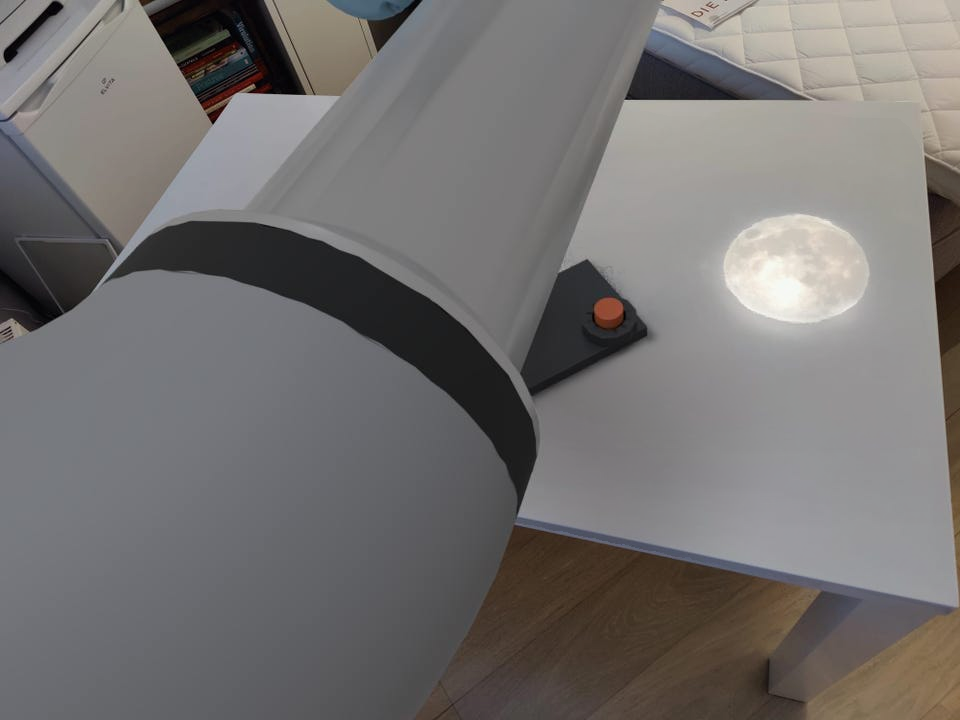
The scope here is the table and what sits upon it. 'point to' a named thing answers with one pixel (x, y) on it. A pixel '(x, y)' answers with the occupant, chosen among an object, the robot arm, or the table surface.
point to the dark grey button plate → (576, 328)
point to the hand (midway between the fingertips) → (516, 221)
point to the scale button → (608, 313)
